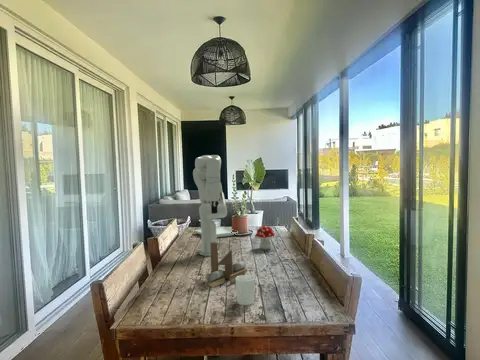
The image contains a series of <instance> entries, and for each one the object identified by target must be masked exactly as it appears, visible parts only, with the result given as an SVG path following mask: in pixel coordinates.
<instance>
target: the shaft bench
mask: <svg viewBox="0 0 480 360" xmlns="http://www.w3.org/2000/svg"><path fill="white" fill-rule="evenodd" d="M232 264H233V274H232V275H230V279H229V284H231V285H233V284H236V280H235V278H236V277H237V276H240V275H246V274H247V273H248V268H247V267H246V266H247V265H246V262H245V261H244V260H241V261H238V262H236V263H232ZM222 270H223V269H218V271H215V272H213V273H211V272H209V273H207V274H206V276H205V278H206V280H205V282H204V284H205V286H207V287H211V288H215V287H217V286H220V285H221V284H224V283H225V280H226V279H224V278H222V277H223V272H222Z"/></svg>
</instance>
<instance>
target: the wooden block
mask: <svg viewBox="0 0 480 360" xmlns="http://www.w3.org/2000/svg"><path fill="white" fill-rule="evenodd" d="M218 243H219V242H218V241H217V242H211V243H210V248H211V256H210V273H213V272H215V271H218V270H219V266H224V270H223V269H221V270H222V272H223V277H222V278H224V280H230V275H232V274H233V264H234V263H233V249H230V250H229V251H228V252H227V253H226V255H224V256H223V257H222V258H221V260H220V261H219V254H218V250H219V249H218V248H219V246H218Z"/></svg>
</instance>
